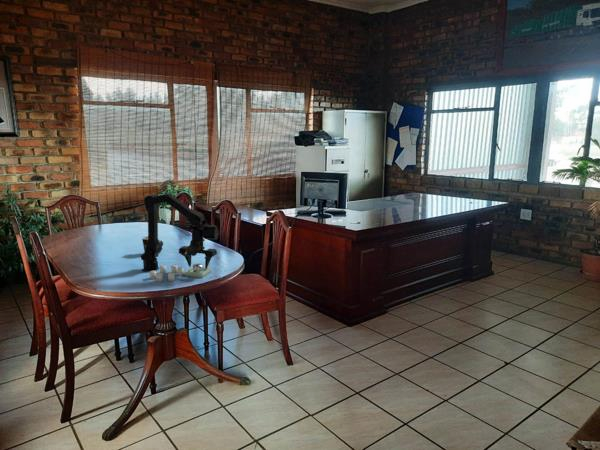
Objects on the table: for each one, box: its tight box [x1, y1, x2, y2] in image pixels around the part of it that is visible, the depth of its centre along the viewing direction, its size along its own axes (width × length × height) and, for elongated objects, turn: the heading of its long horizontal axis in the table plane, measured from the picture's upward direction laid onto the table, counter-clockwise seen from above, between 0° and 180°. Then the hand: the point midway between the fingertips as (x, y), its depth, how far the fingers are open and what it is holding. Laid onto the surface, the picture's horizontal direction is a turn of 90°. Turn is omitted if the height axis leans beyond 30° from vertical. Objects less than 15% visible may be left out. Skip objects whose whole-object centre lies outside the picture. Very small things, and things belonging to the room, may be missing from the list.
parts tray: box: [184, 266, 212, 279], centre depth 228 cm, size 10×10×2 cm
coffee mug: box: [142, 235, 164, 253], centre depth 259 cm, size 12×9×10 cm
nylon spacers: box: [149, 264, 185, 283], centre depth 222 cm, size 13×17×4 cm
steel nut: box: [192, 263, 204, 273], centre depth 227 cm, size 5×5×4 cm
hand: (198, 267), depth 227 cm, fingers open, 9 cm apart
